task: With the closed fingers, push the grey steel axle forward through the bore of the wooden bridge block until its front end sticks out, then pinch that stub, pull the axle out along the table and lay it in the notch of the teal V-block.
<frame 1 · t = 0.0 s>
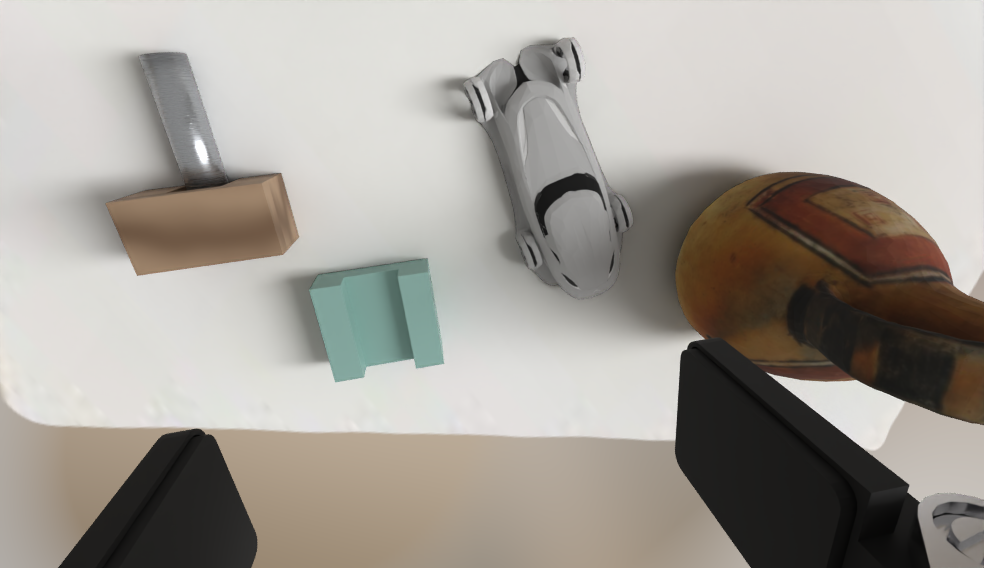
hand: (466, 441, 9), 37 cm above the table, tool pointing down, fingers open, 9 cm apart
wooden bridge block: (225, 214, 42), on the table
ceramic pitcher: (740, 254, 51), on the table
v block: (383, 311, 47), on the table
car model: (552, 180, 46), on the table
axle: (203, 146, 40), on the table
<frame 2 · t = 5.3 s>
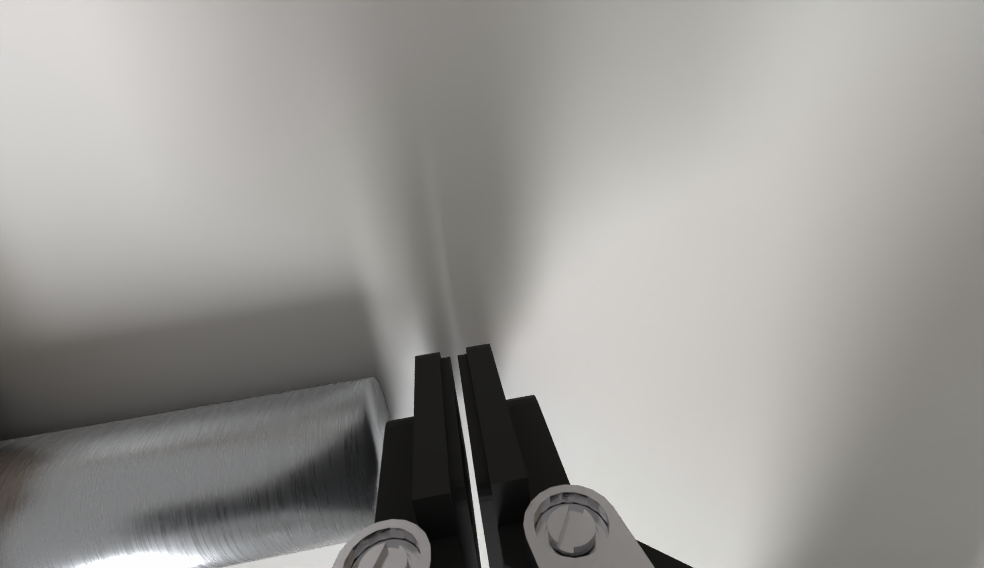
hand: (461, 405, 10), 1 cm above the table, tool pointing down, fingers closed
axle: (85, 454, 11), on the table, tilted 5°, touching gripper
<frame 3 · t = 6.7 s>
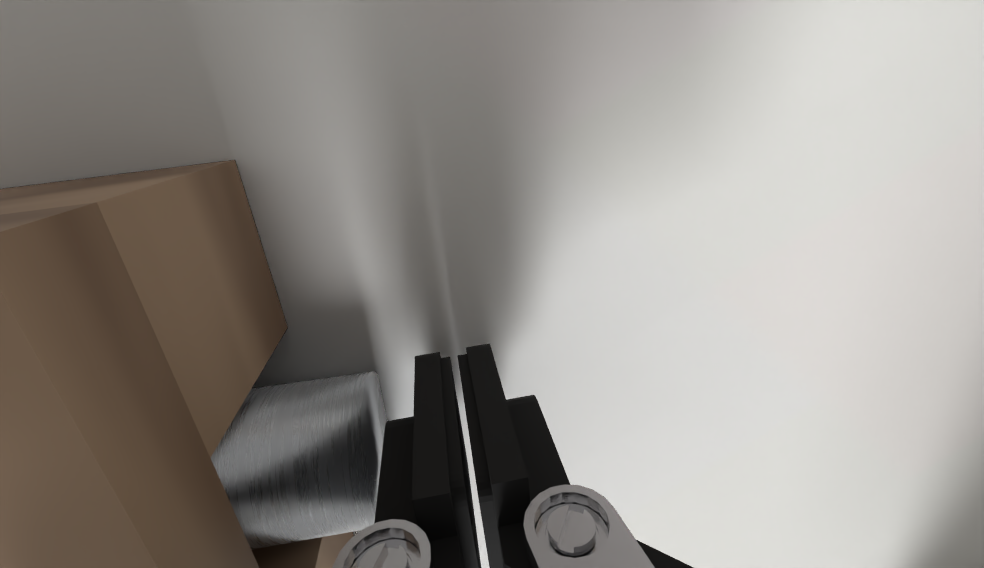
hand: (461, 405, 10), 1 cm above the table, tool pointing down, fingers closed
wooden bridge block: (181, 431, 11), on the table
axle: (83, 441, 11), on the table
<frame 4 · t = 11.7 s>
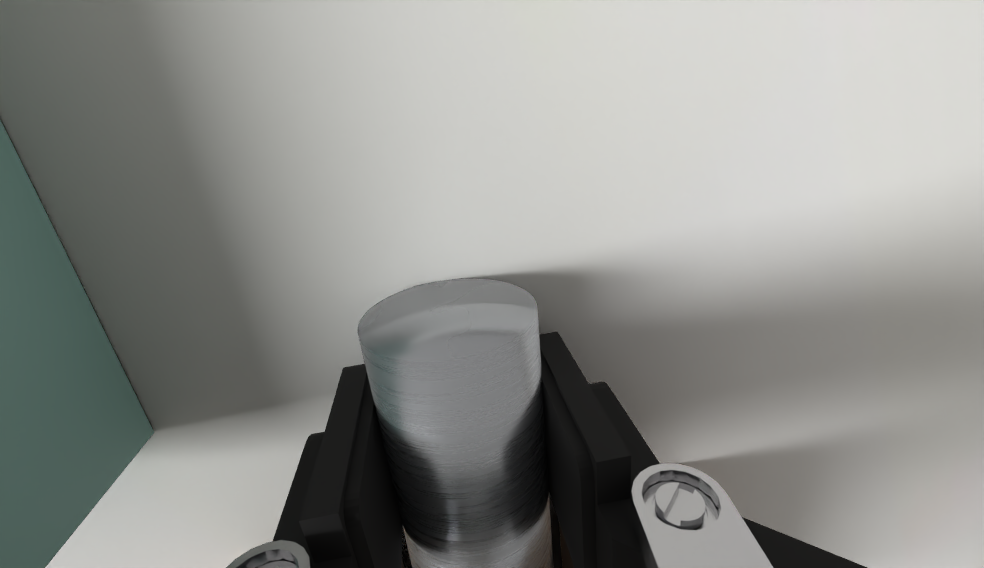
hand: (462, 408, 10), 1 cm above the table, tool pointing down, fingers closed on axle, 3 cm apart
axle: (485, 518, 12), on the table, tilted 7°, touching gripper
when the fingers open (5 cm above the table, at t = 19.7 s): axle drops 2 cm, resting on v block.
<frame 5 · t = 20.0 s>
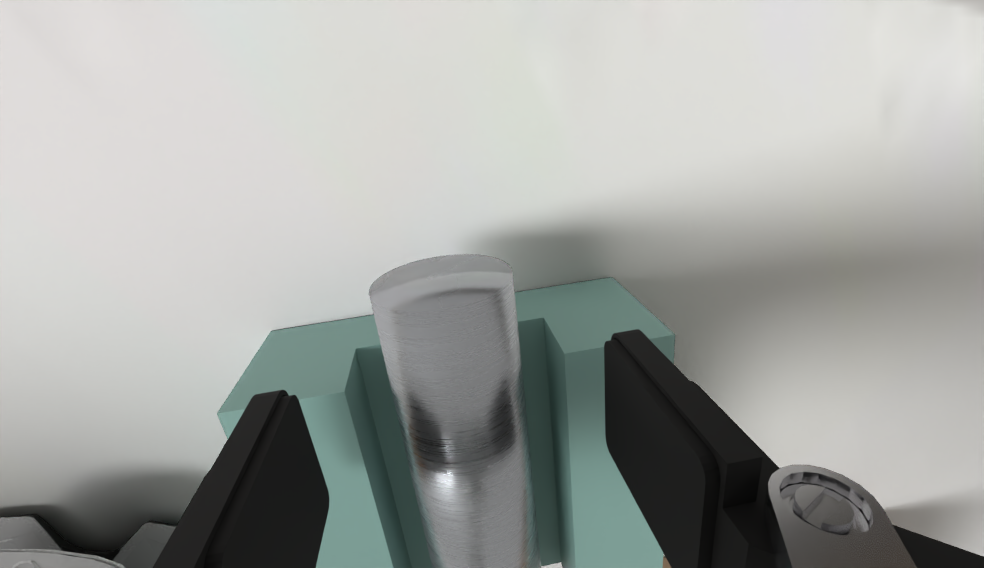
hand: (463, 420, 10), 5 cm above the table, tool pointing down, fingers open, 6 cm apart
v block: (467, 429, 16), on the table
axle: (479, 464, 14), point 2 cm above the table, tilted 8°, touching v block
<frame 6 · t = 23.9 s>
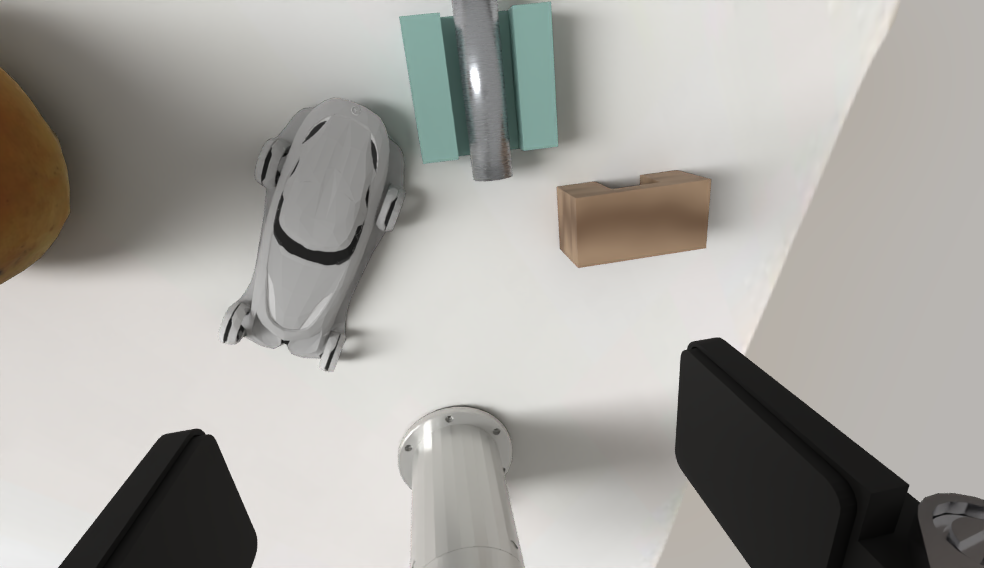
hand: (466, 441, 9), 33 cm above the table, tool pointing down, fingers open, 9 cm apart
wooden bridge block: (617, 210, 43), on the table
v block: (478, 87, 38), on the table
car model: (320, 237, 41), on the table
axle: (483, 83, 36), point 2 cm above the table, tilted 8°, touching v block
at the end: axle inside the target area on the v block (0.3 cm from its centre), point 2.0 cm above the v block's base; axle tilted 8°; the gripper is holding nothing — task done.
